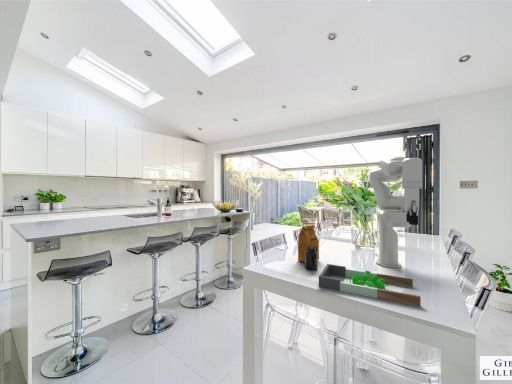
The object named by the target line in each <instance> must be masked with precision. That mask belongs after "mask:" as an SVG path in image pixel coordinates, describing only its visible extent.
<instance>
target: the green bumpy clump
mask: <svg viewBox="0 0 512 384" xmlns="http://www.w3.org/2000/svg"><path fill="white" fill-rule="evenodd" d="M366 273H367V275H366ZM371 273H372V272H371V271H370V270H365V273H364V275H363V279H361V276H360V275H359V274H357V275H355V274H354V275H355V276H354V275H353V277H350V279H349V283H351V284H356V285H362V286H365V285H368V286H367V287H373V288H378V289H384V290H386V287H388V286H387V285H388V283H384V281H385V280H384V279H378V276H376V275H374V276H373V278H372V281H371V280H368V274H371ZM351 280H352V281H351ZM378 280H379V281H378ZM382 280H384V281H382ZM385 282H386V281H385Z"/></svg>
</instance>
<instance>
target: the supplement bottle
mask: <svg viewBox="0 0 512 384" xmlns="http://www.w3.org/2000/svg"><path fill="white" fill-rule="evenodd" d="M315 251H316V247H314V246H308V247H307V251H306V252H305V262H304V268H305V269H306V270H308V271H318V269H319V262H318V261H319V260H318V254H317V252H315Z"/></svg>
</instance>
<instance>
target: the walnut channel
mask: <svg viewBox="0 0 512 384" xmlns="http://www.w3.org/2000/svg"><path fill="white" fill-rule="evenodd" d="M376 273H377V272H376ZM377 276H378V279H384V280H385V281H386V282H385V281H384V280H382V281H384V284H386V283H387V284H389V285H396V286H400V287H401V286H402V287H408V288H414V279H413V278H410V277H402V276H398V275H397V276H396V275H395V276H394V275H392V274H383V273H377ZM378 281H379V280H378ZM376 288H377V287H376ZM376 299H380V300H385V301H389V302H395V303H399V304H405V305H410V306H414V307H419V308H421V296H420V295H416V294H411V293H405V292H399V291H395V290H389V289H385V290H384V288H383V289H378V288H377V298H376Z"/></svg>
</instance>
